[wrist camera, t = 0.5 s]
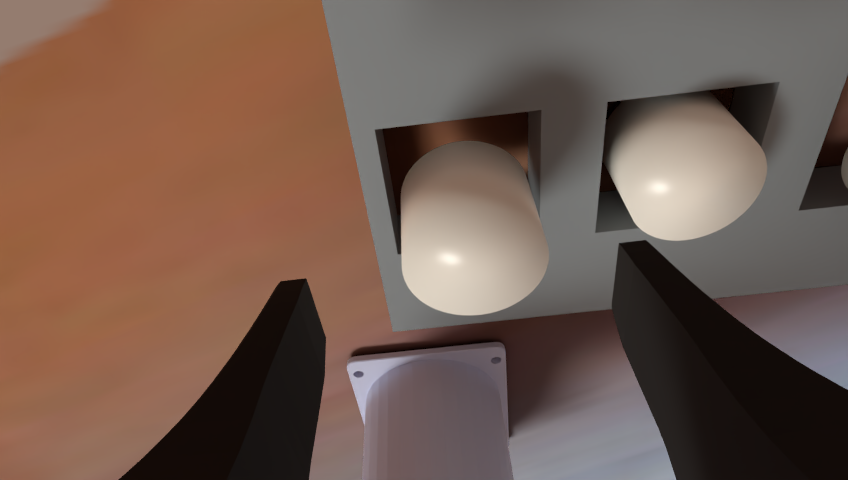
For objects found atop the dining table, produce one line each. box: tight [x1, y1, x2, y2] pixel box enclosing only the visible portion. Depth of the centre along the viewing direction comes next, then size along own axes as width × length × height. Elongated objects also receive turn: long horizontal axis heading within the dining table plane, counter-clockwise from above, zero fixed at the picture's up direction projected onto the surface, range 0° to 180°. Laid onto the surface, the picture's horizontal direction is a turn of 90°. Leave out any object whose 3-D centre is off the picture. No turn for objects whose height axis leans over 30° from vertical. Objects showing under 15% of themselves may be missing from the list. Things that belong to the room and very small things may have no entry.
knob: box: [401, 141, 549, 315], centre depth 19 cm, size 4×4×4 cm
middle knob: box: [602, 90, 767, 241], centre depth 21 cm, size 4×4×4 cm
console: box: [322, 0, 848, 332], centre depth 22 cm, size 14×22×2 cm, turn 96°
